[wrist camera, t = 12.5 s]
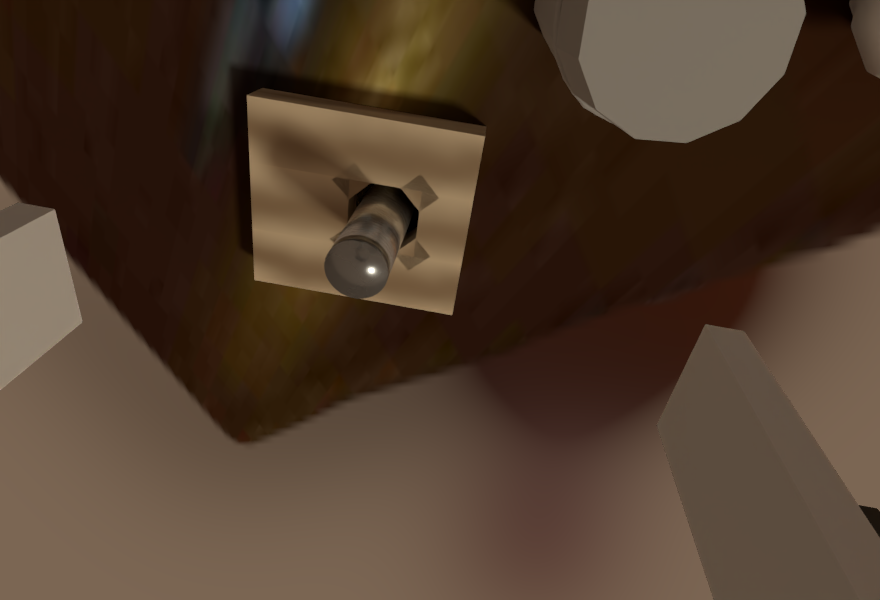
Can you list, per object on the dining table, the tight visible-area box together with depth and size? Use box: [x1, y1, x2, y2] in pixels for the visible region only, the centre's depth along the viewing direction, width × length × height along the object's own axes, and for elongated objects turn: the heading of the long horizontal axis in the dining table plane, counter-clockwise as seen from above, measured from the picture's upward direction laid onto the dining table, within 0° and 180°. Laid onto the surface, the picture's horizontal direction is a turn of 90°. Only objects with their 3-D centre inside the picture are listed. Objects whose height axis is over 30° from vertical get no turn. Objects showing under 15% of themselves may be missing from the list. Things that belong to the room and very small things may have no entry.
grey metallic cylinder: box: [324, 184, 414, 299], centre depth 42 cm, size 4×4×12 cm
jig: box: [247, 88, 486, 315], centre depth 46 cm, size 16×18×3 cm
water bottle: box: [534, 0, 806, 143], centre depth 27 cm, size 9×8×25 cm
